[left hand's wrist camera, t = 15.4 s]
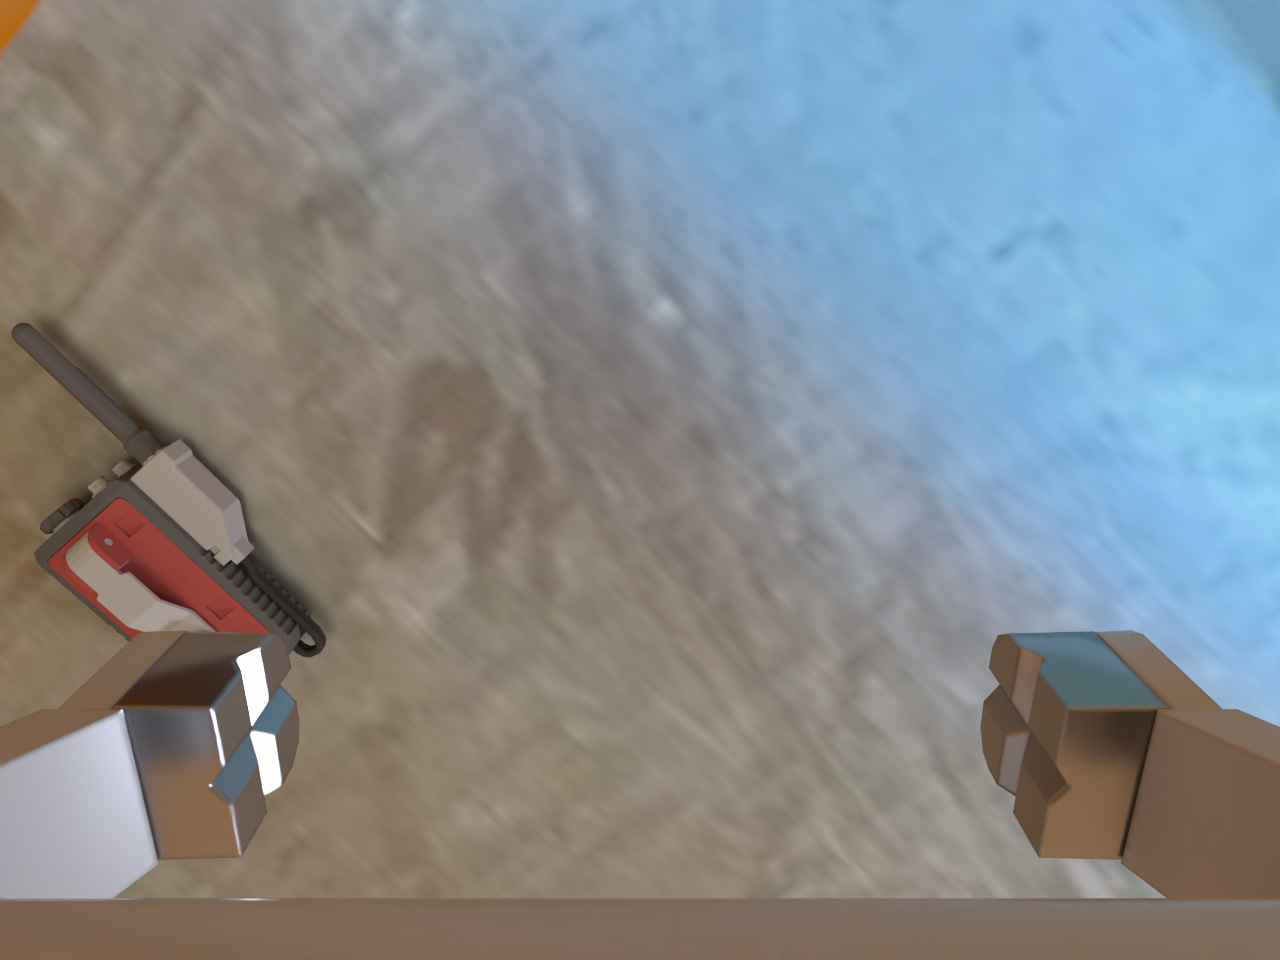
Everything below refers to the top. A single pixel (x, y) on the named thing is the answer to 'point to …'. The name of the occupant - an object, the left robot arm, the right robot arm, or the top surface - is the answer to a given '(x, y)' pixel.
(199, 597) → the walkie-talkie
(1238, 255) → the top surface
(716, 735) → the top surface
